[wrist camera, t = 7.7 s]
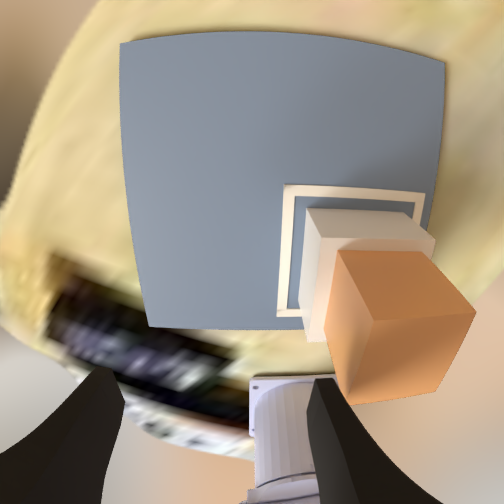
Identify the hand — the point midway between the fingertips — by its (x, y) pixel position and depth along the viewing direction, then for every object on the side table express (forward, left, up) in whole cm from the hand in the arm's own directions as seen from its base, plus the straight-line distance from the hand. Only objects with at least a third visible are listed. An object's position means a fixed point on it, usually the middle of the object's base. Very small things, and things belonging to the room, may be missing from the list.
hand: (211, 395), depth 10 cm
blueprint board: (+4, -3, -10) cm, 11 cm away
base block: (+1, -7, -9) cm, 12 cm away
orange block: (+1, -7, -5) cm, 9 cm away
